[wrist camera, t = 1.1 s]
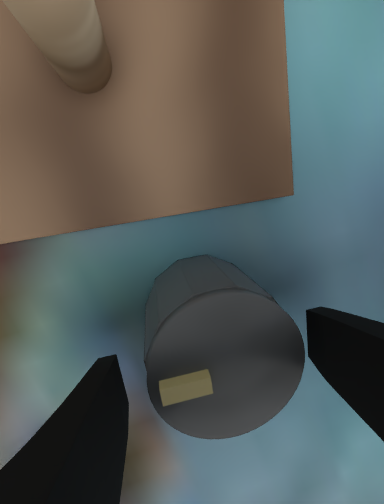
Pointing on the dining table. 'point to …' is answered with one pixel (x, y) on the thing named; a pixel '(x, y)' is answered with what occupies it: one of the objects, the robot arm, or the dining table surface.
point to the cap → (218, 350)
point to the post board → (139, 110)
